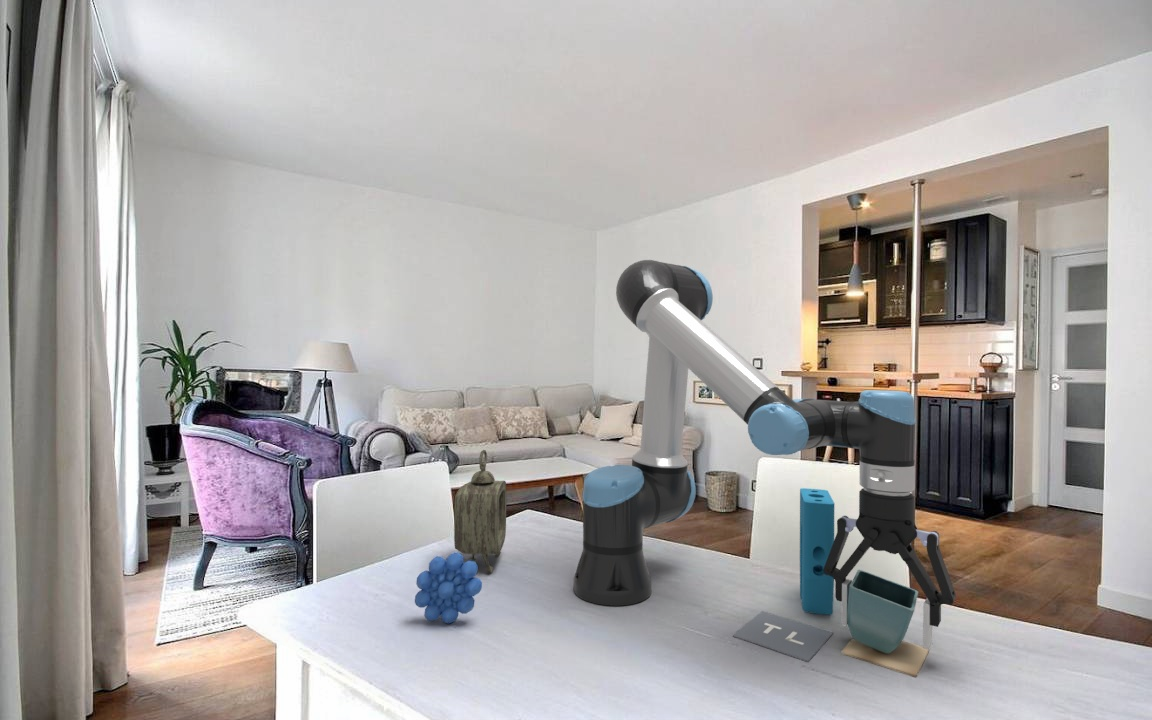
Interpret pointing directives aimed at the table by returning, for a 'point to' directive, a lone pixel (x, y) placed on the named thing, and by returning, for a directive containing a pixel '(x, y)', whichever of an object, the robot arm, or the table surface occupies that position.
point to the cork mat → (890, 656)
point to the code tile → (784, 635)
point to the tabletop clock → (480, 515)
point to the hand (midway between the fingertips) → (885, 633)
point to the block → (816, 550)
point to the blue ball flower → (448, 588)
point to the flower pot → (879, 611)
